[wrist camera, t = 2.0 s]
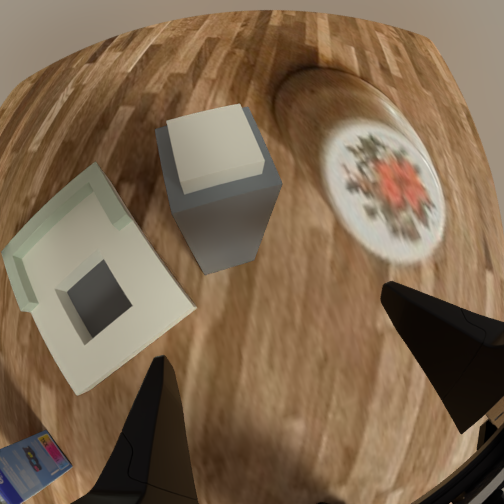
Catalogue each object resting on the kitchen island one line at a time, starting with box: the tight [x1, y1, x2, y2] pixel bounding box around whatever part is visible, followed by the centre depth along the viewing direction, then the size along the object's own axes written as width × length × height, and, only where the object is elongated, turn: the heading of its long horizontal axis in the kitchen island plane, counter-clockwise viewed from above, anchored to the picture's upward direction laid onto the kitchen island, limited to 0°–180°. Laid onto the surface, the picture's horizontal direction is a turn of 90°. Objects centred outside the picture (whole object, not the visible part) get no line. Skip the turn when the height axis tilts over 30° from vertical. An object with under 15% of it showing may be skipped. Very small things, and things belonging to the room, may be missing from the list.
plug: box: [155, 104, 282, 275], centre depth 17 cm, size 4×4×15 cm
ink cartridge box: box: [0, 430, 72, 504], centre depth 9 cm, size 10×6×14 cm, turn 129°
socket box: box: [1, 161, 197, 396], centre depth 20 cm, size 16×14×4 cm
